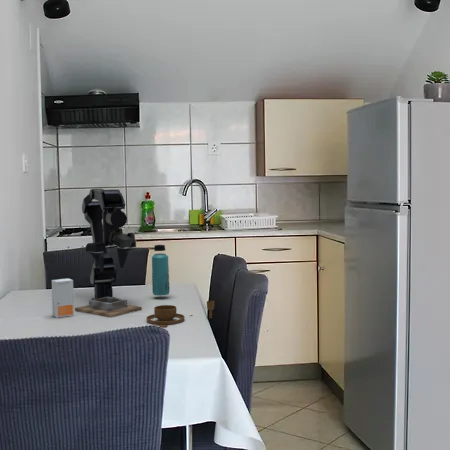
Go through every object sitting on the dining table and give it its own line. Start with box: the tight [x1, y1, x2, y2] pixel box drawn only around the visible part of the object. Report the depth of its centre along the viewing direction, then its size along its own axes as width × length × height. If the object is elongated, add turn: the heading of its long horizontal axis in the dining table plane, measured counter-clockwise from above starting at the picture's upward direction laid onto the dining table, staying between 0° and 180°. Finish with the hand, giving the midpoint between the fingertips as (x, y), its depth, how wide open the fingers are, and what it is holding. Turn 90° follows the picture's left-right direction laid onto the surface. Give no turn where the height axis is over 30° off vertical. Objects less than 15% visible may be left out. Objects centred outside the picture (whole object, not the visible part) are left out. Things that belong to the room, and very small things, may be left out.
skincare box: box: [51, 278, 75, 319], centre depth 200 cm, size 6×4×12 cm
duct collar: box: [74, 296, 143, 318], centre depth 208 cm, size 18×14×4 cm
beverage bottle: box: [151, 244, 171, 296], centre depth 228 cm, size 6×7×20 cm
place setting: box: [146, 300, 215, 328], centre depth 191 cm, size 18×20×6 cm
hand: (112, 269), depth 214 cm, fingers open, 9 cm apart
